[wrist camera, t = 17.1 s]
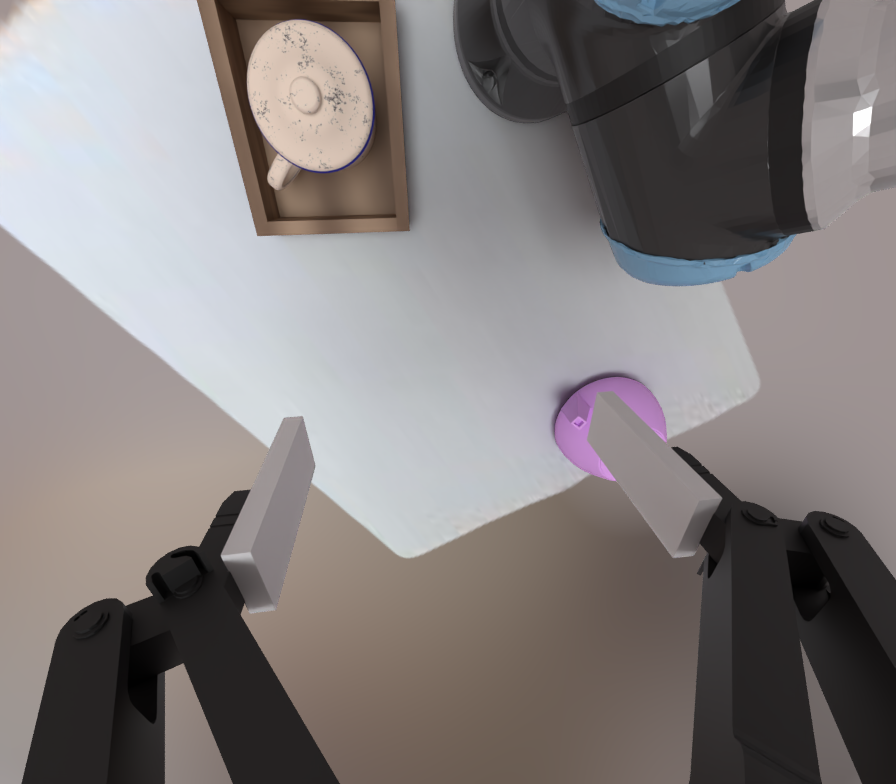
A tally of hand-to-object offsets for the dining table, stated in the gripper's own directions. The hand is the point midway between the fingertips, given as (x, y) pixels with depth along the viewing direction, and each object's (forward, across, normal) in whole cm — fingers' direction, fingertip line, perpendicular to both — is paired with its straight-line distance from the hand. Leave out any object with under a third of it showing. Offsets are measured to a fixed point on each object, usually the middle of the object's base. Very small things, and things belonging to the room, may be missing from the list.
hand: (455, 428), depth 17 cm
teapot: (+32, +27, -23) cm, 48 cm away
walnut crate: (+32, -8, +14) cm, 36 cm away
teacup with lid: (+31, -8, +14) cm, 35 cm away
